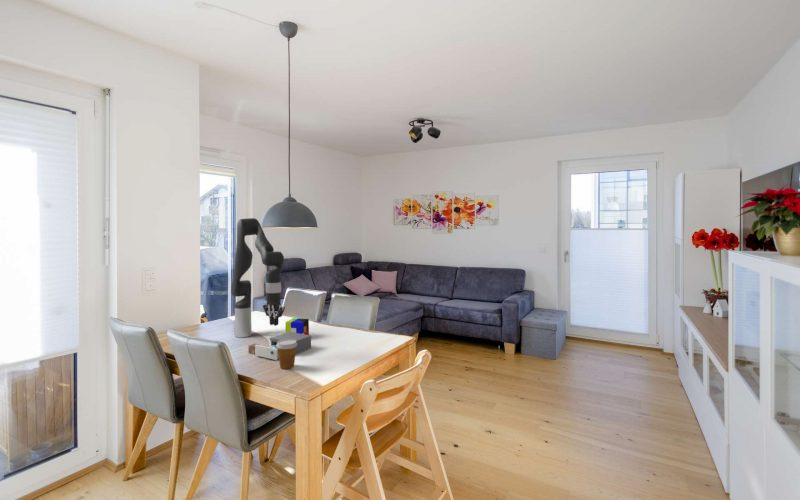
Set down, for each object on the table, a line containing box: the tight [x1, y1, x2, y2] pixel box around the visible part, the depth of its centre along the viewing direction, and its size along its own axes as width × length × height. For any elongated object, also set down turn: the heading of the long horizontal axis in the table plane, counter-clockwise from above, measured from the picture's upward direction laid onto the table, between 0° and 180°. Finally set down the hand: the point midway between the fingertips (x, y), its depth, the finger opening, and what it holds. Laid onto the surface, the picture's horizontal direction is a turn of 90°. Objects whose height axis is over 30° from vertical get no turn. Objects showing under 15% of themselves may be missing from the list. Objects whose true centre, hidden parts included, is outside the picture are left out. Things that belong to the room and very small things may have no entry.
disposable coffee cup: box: [276, 339, 297, 370], centre depth 187 cm, size 10×10×12 cm
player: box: [269, 332, 312, 356], centre depth 213 cm, size 16×14×7 cm
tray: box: [254, 344, 279, 361], centre depth 203 cm, size 15×14×5 cm
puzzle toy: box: [285, 317, 310, 335], centre depth 237 cm, size 10×10×10 cm
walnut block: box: [247, 343, 260, 355], centre depth 208 cm, size 4×4×4 cm
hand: (274, 324), depth 202 cm, fingers closed
